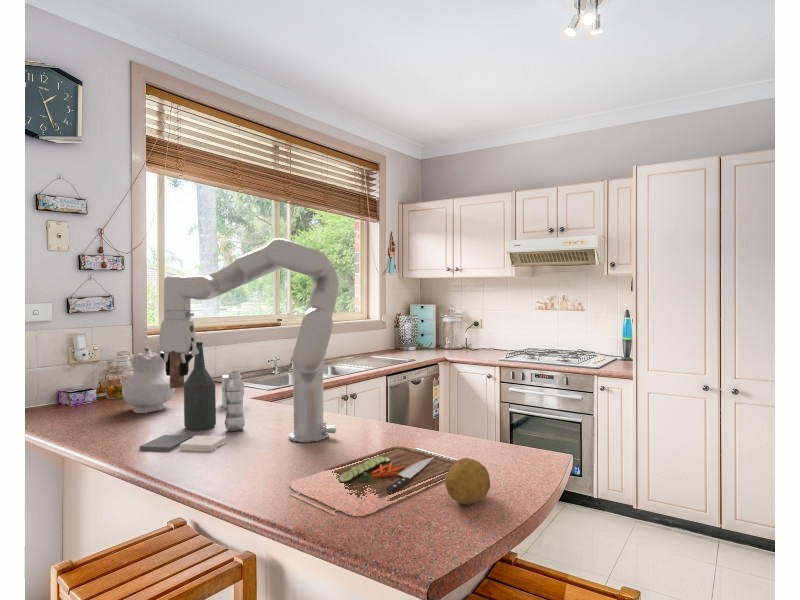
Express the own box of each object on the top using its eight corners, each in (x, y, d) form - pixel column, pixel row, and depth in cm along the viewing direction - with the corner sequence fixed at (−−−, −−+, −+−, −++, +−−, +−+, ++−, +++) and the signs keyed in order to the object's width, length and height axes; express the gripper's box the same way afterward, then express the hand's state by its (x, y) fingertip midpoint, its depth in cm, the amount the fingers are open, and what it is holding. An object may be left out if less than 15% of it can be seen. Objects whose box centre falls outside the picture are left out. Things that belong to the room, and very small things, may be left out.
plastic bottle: (220, 431, 171) (219, 372, 170) (235, 426, 177) (234, 370, 176) (234, 433, 168) (233, 374, 167) (249, 428, 174) (248, 371, 173)
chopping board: (403, 447, 153) (403, 437, 153) (476, 467, 135) (476, 456, 135) (276, 491, 121) (275, 478, 120) (350, 526, 102) (349, 511, 102)
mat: (192, 439, 161) (192, 435, 161) (170, 451, 150) (170, 447, 150) (164, 438, 163) (164, 434, 163) (139, 450, 151) (139, 446, 151)
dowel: (186, 385, 157) (186, 341, 157) (179, 388, 153) (179, 342, 153) (174, 385, 157) (174, 340, 157) (167, 387, 153) (167, 342, 153)
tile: (226, 436, 158) (196, 435, 160) (211, 445, 149) (180, 444, 151) (226, 443, 158) (196, 442, 160) (211, 452, 149) (180, 451, 151)
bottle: (199, 422, 183) (198, 340, 182) (221, 424, 179) (220, 340, 179) (178, 430, 173) (176, 343, 172) (201, 432, 170) (200, 343, 169)
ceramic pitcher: (117, 411, 206) (110, 351, 204) (166, 400, 219) (161, 343, 217) (131, 421, 190) (125, 356, 188) (184, 408, 203) (178, 347, 201)
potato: (501, 455, 115) (464, 445, 120) (476, 477, 104) (436, 464, 109) (498, 495, 116) (462, 483, 121) (473, 520, 105) (434, 505, 110)
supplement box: (221, 404, 211) (221, 374, 211) (240, 403, 214) (239, 373, 214) (223, 408, 205) (223, 377, 204) (242, 406, 208) (242, 376, 207)
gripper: (208, 315, 157) (208, 374, 158) (159, 315, 160) (159, 372, 160) (195, 316, 150) (195, 378, 150) (144, 316, 152) (144, 376, 153)
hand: (177, 374), depth 155 cm, fingers closed on dowel, 4 cm apart
